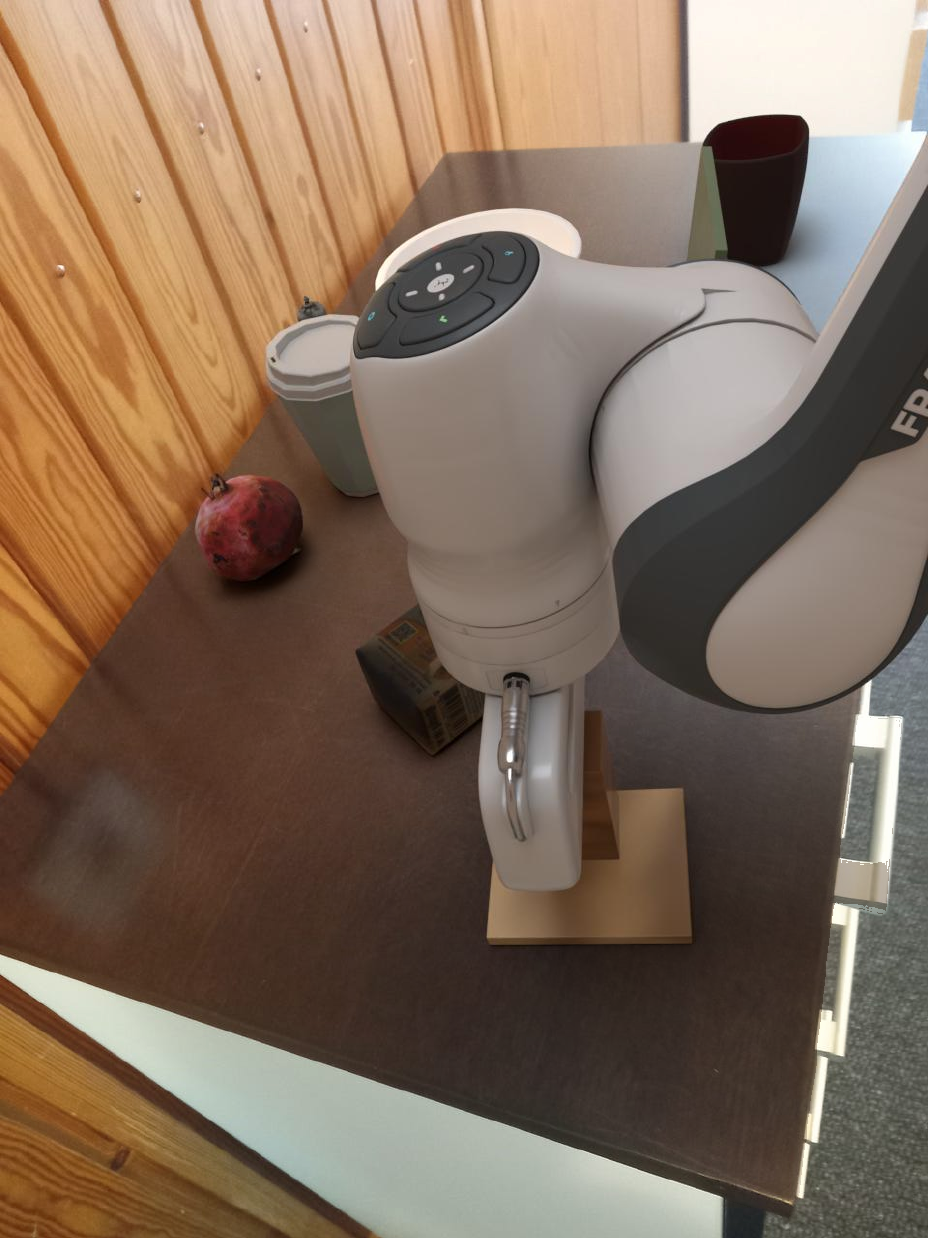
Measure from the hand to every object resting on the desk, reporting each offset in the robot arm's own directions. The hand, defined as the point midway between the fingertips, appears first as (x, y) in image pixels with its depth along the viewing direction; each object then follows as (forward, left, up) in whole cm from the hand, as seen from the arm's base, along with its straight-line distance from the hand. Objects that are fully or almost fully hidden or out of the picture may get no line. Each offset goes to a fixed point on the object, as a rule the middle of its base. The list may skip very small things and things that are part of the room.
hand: (563, 771), depth 56 cm
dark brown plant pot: (-17, -73, -11) cm, 76 cm away
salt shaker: (+26, -54, -11) cm, 61 cm away
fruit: (+29, -31, -11) cm, 44 cm away
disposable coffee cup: (+21, -41, -11) cm, 47 cm away
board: (0, 0, -11) cm, 11 cm away
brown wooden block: (0, 0, -6) cm, 6 cm away
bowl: (+11, -63, -11) cm, 65 cm away
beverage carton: (+7, -18, -11) cm, 22 cm away
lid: (-9, -41, +3) cm, 42 cm away
